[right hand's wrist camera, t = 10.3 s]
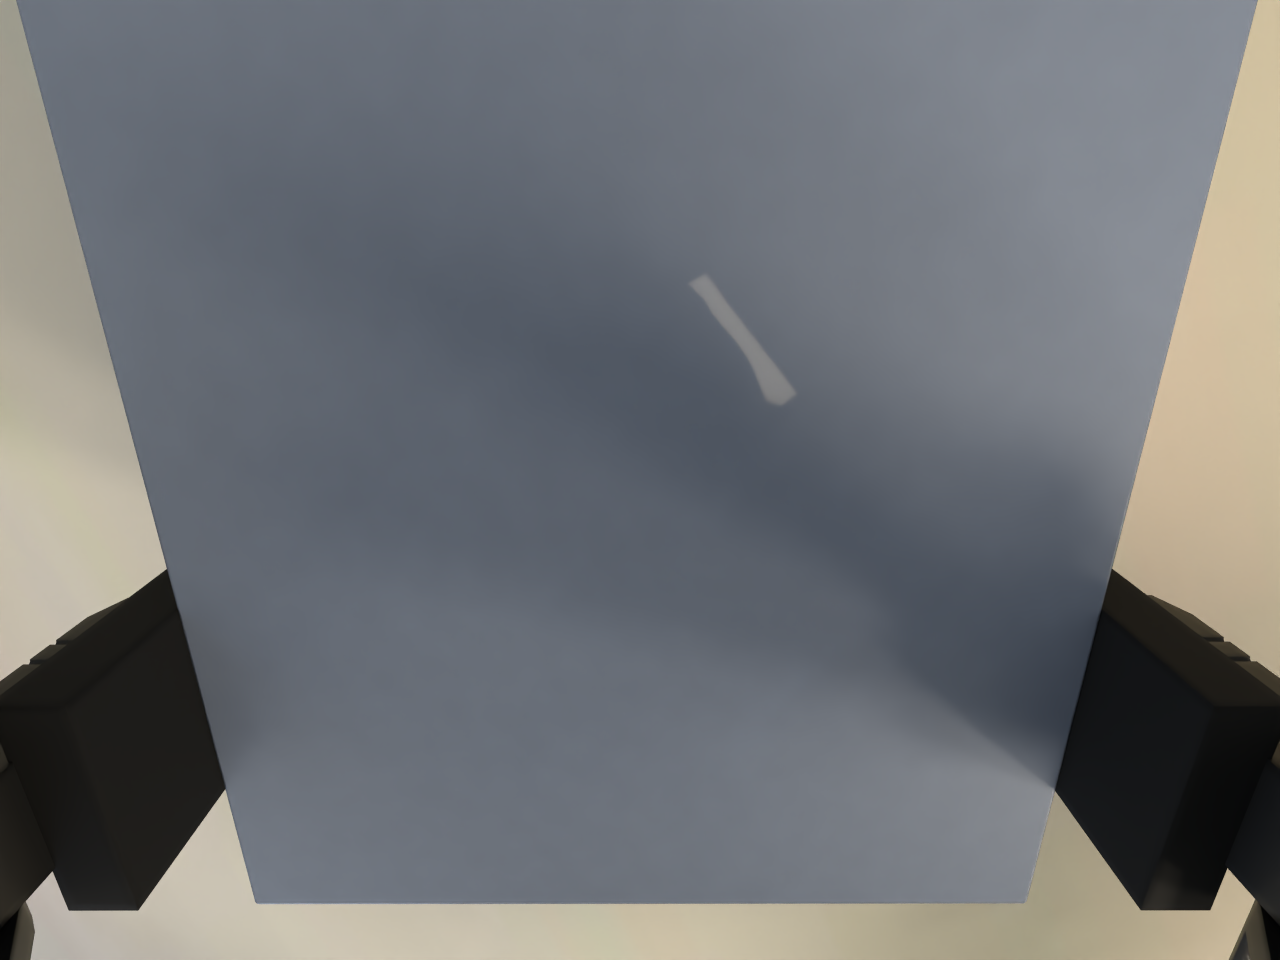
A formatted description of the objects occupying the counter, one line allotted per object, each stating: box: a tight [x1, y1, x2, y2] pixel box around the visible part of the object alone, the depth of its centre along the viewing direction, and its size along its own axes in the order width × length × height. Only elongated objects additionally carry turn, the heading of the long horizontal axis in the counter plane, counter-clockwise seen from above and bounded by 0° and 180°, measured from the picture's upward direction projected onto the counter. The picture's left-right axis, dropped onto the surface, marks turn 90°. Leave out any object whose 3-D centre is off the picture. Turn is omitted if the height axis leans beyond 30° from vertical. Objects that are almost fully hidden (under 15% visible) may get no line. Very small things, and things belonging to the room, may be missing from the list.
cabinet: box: [16, 0, 1258, 904], centre depth 10 cm, size 22×11×9 cm, turn 0°
